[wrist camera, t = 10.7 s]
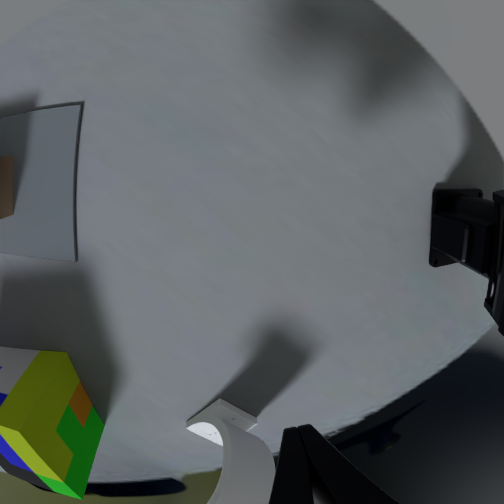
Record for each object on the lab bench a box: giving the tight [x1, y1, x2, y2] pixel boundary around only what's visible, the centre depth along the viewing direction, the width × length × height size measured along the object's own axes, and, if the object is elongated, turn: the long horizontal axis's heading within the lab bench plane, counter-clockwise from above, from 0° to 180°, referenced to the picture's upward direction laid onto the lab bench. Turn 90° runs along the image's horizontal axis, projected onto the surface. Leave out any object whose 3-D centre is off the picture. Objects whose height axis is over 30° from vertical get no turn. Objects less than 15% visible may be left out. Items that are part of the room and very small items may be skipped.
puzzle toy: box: [0, 346, 105, 499], centre depth 17 cm, size 10×10×10 cm
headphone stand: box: [186, 398, 275, 504], centre depth 18 cm, size 5×6×12 cm
